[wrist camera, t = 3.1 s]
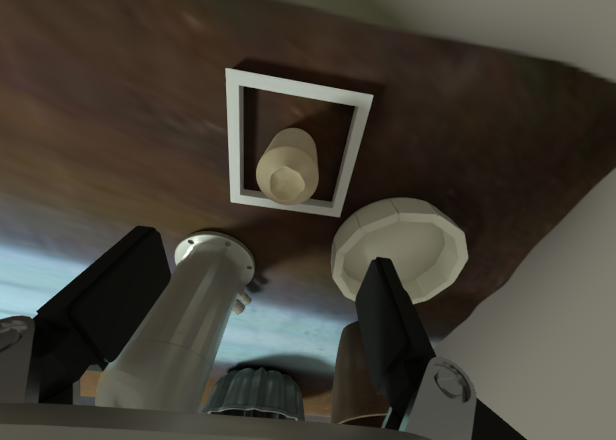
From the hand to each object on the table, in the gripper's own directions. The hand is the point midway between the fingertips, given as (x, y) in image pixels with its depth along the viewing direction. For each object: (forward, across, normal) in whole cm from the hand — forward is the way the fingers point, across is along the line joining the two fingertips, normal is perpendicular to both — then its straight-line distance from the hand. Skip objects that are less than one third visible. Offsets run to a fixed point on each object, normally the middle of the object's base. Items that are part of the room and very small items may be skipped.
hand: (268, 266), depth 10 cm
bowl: (+20, -16, +13) cm, 29 cm away
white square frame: (+20, 0, 0) cm, 20 cm away
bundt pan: (+19, +2, +64) cm, 67 cm away
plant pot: (+20, -18, +36) cm, 45 cm away
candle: (+20, 0, 0) cm, 20 cm away
